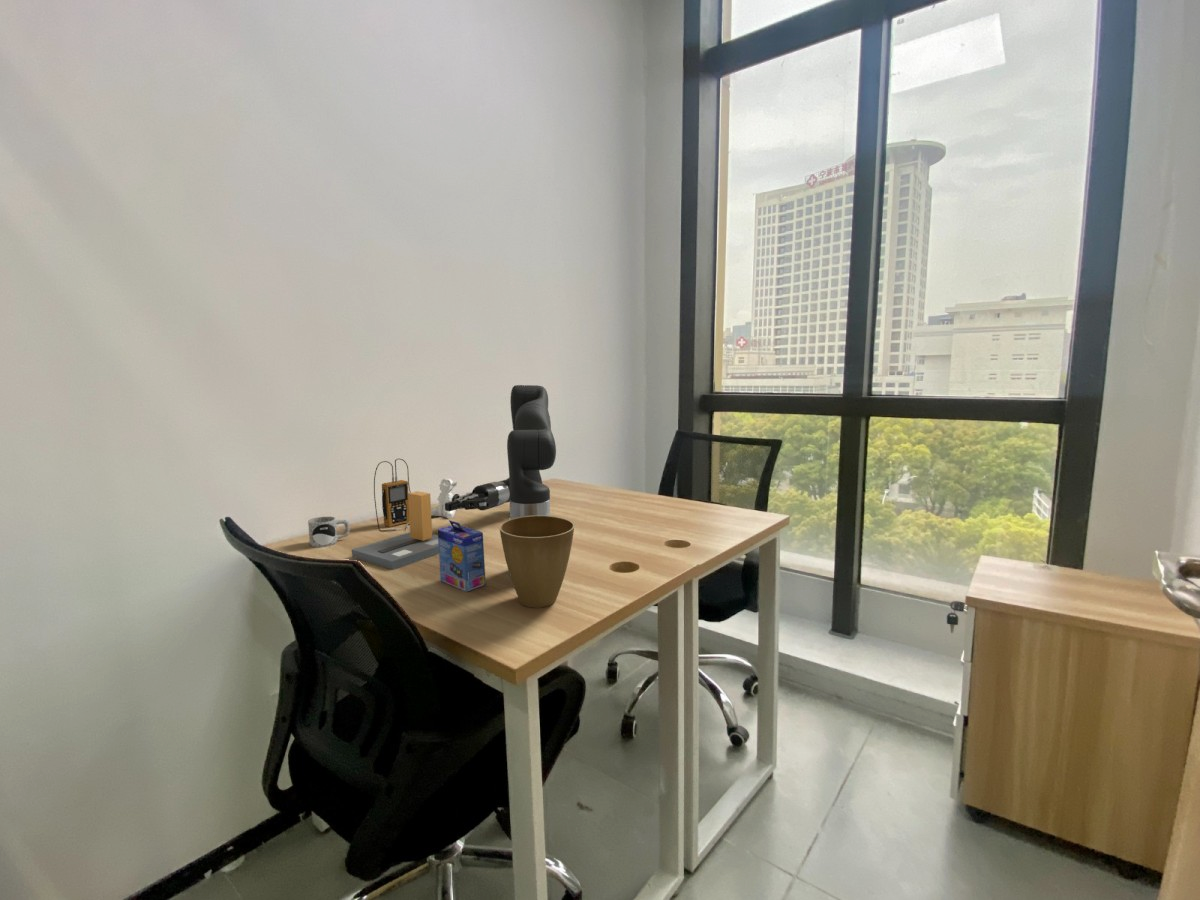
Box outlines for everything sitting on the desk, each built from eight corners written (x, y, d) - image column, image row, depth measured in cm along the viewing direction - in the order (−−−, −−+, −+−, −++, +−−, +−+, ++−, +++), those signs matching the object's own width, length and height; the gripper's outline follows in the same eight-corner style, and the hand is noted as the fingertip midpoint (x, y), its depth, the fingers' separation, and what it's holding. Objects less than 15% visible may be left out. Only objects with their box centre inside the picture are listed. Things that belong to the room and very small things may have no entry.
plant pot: (486, 604, 112) (483, 527, 110) (534, 581, 124) (533, 511, 122) (543, 623, 104) (542, 540, 102) (589, 596, 116) (588, 522, 114)
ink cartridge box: (438, 581, 124) (435, 518, 122) (458, 574, 129) (456, 513, 126) (465, 593, 118) (463, 526, 116) (486, 585, 122) (484, 521, 120)
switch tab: (432, 537, 148) (430, 493, 146) (423, 540, 145) (420, 495, 144) (419, 534, 151) (417, 491, 149) (410, 537, 148) (408, 493, 146)
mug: (312, 549, 147) (310, 524, 146) (308, 542, 152) (306, 519, 151) (352, 542, 152) (351, 518, 152) (347, 536, 158) (345, 513, 157)
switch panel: (457, 546, 148) (456, 538, 148) (392, 569, 132) (392, 560, 131) (417, 537, 157) (416, 529, 157) (352, 557, 140) (351, 548, 140)
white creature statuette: (425, 516, 178) (423, 480, 176) (440, 510, 186) (439, 475, 185) (450, 519, 175) (449, 482, 173) (465, 512, 183) (464, 476, 182)
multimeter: (391, 535, 159) (387, 466, 156) (372, 529, 165) (368, 462, 162) (435, 523, 170) (432, 459, 167) (415, 518, 176) (412, 455, 173)
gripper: (474, 480, 172) (429, 491, 158) (506, 485, 165) (463, 497, 151) (475, 504, 173) (431, 517, 159) (507, 510, 166) (464, 524, 152)
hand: (446, 507), depth 155 cm, fingers closed
